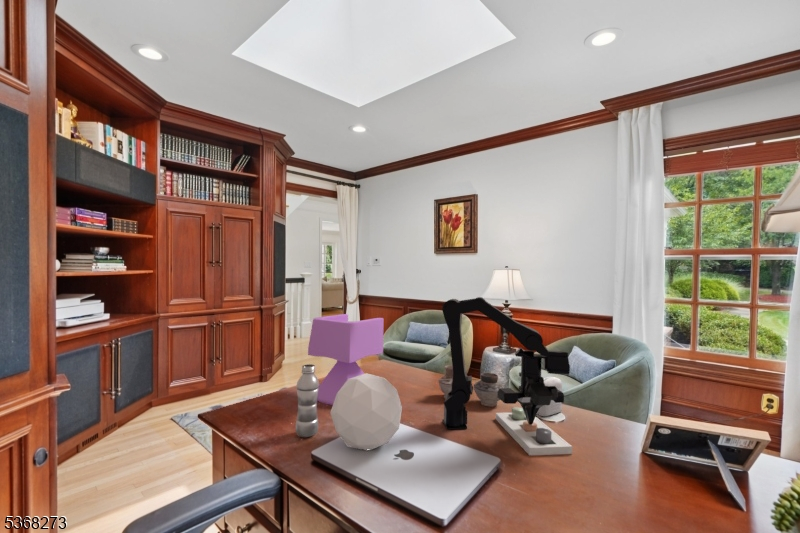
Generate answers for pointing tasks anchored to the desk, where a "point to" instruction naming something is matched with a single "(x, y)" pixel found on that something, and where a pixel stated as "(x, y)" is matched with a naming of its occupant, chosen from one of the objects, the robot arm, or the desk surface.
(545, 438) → the charcoal button
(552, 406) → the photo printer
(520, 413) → the sage button
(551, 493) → the desk surface
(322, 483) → the desk surface
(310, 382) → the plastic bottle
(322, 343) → the purple table lamp
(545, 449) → the button console
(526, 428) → the terracotta button
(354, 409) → the geometric orb
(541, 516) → the desk surface
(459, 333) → the robot arm
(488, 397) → the pottery
